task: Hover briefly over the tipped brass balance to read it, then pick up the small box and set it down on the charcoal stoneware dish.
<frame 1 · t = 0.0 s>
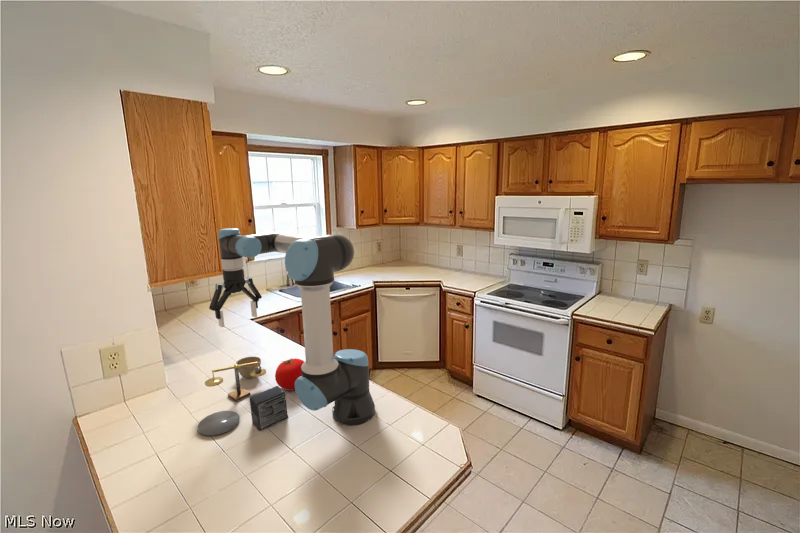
hand: (238, 321, 150), 28 cm above the countertop, fingers open, 13 cm apart
tomato: (293, 387, 155), on the countertop
small box: (270, 421, 132), on the countertop
balance: (239, 396, 148), on the countertop
flower pot: (250, 377, 164), on the countertop
dish: (219, 424, 130), on the countertop
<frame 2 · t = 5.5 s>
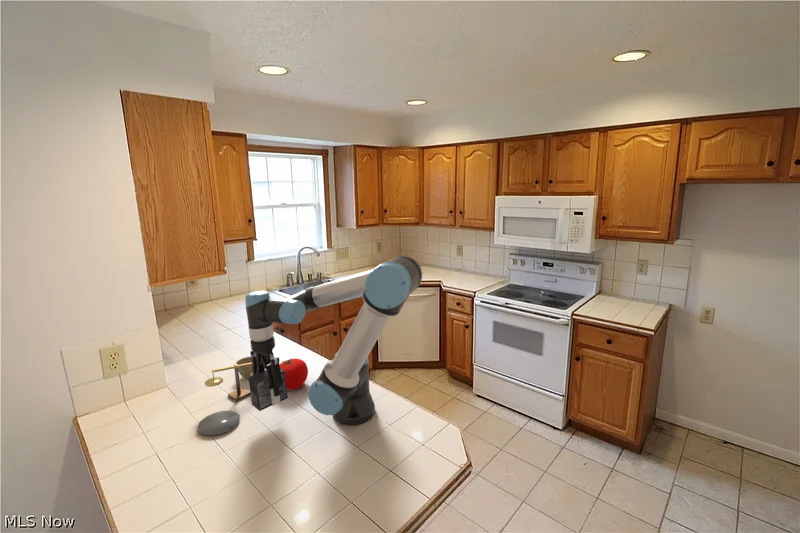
hand: (269, 400, 130), 8 cm above the countertop, fingers closed on small box, 7 cm apart
small box: (270, 402, 131), point 7 cm above the countertop, touching gripper
everything else where it was.
when the fingers open (2 cm above the countertop, at t = 9.7 s): small box stays where it is, resting on dish.
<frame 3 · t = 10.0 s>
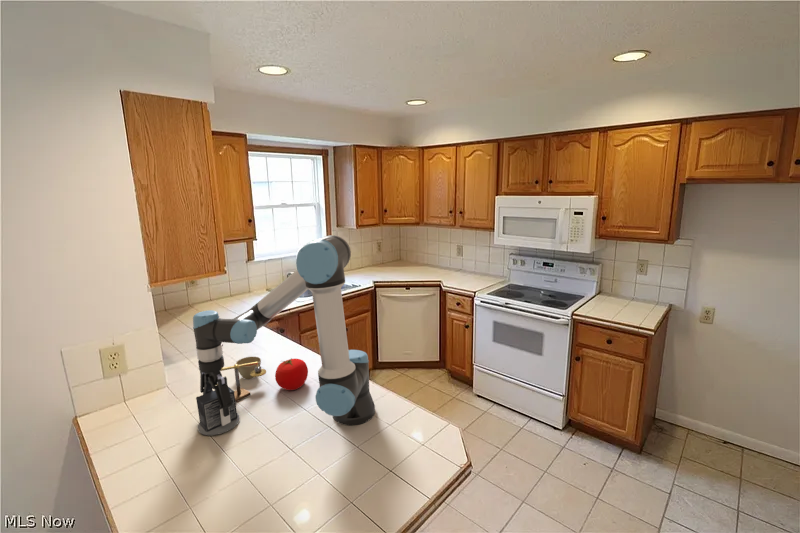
hand: (218, 417, 130), 3 cm above the countertop, fingers open, 10 cm apart
small box: (219, 421, 130), point 1 cm above the countertop, touching dish
everything else where it was.
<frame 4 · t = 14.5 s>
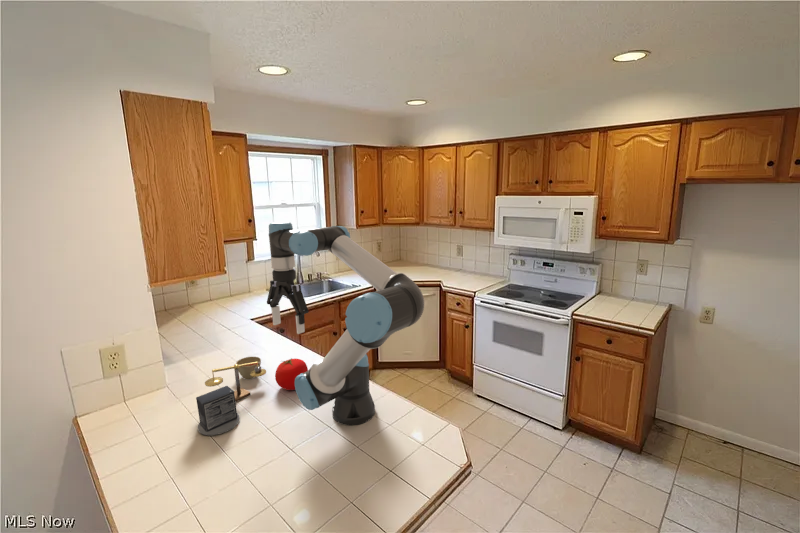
hand: (288, 328, 131), 32 cm above the countertop, fingers open, 13 cm apart
nothing on the countertop moved.
at the end: small box inside the target area on the dish (0.1 cm from its centre), point 1.1 cm above the dish's base; small box tilted 0°; the gripper is holding nothing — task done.
